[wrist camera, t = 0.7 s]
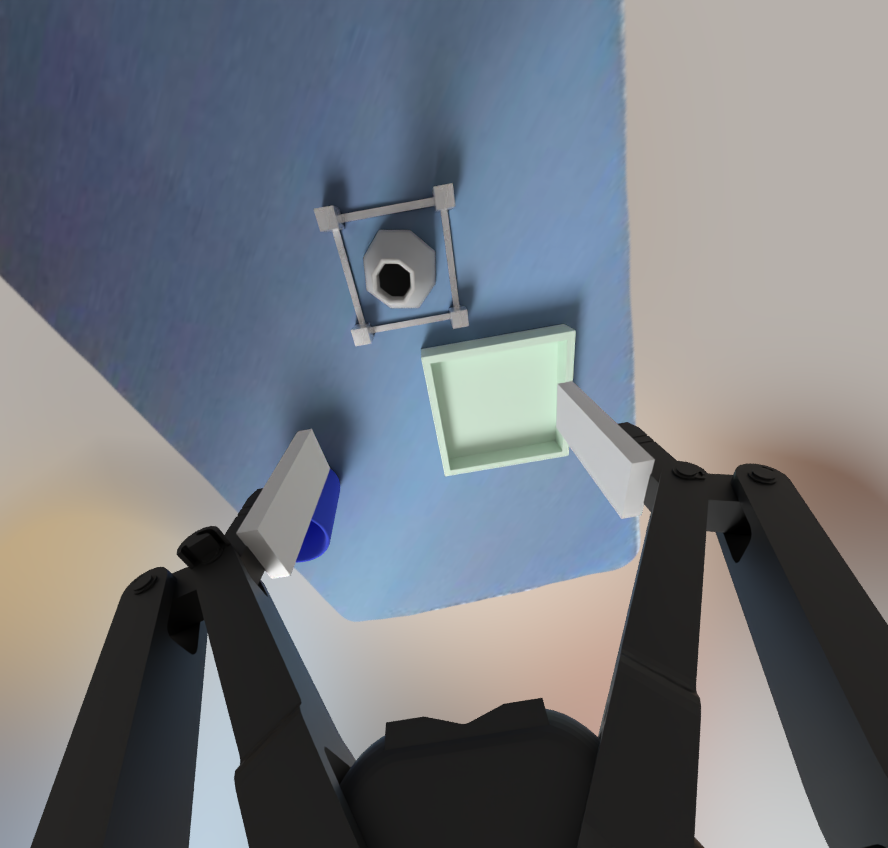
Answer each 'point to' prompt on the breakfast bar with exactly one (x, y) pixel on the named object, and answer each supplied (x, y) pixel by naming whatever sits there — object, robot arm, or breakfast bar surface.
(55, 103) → the breakfast bar surface
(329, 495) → the mug
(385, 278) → the flask
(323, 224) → the socket
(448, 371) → the bin
